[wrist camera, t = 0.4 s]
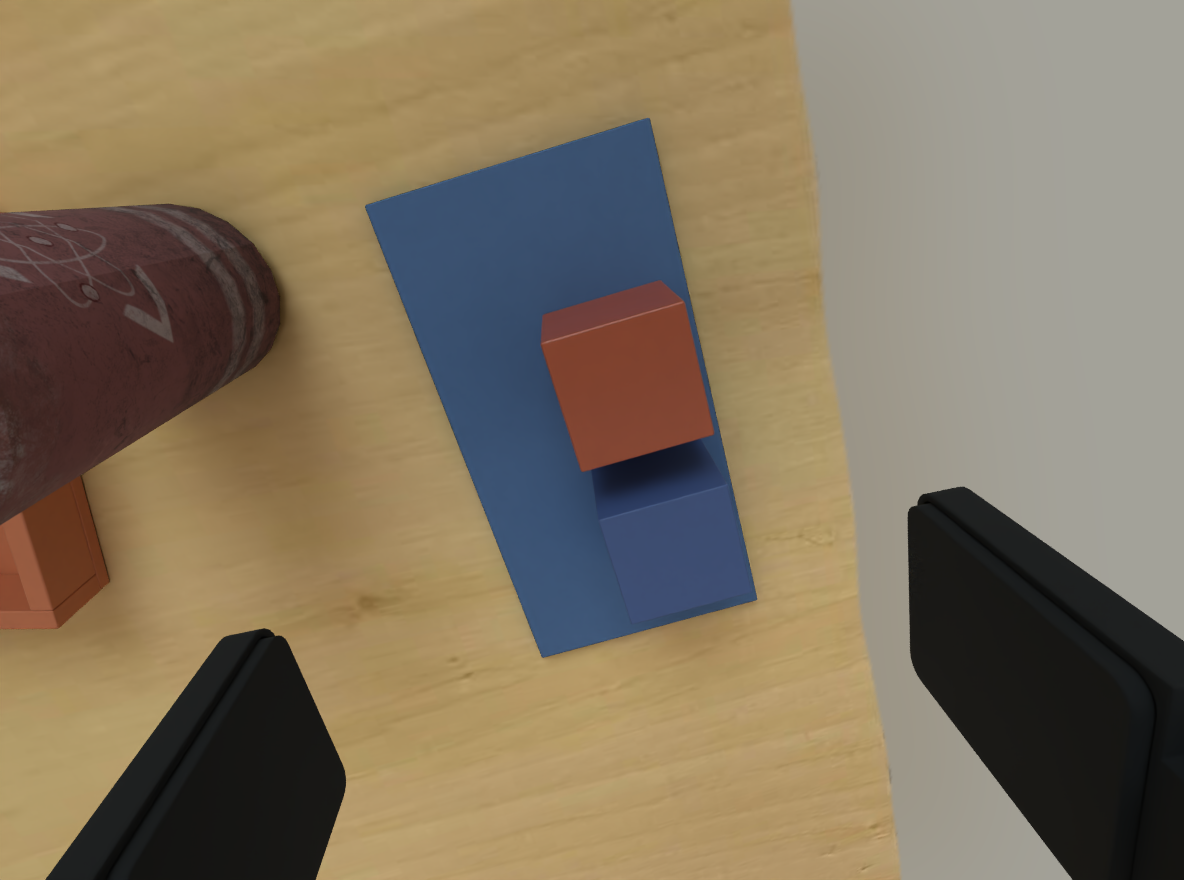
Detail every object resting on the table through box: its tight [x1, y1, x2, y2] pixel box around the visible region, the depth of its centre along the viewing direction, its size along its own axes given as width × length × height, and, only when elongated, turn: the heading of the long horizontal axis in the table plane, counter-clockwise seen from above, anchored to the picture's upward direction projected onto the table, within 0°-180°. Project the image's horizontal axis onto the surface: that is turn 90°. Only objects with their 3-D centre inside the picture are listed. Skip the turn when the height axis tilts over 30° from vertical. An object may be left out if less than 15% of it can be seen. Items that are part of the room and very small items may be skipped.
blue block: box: [591, 439, 752, 624], centre depth 25 cm, size 4×4×4 cm
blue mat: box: [365, 118, 757, 658], centre depth 26 cm, size 20×10×1 cm, turn 16°
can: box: [0, 204, 280, 525], centre depth 17 cm, size 6×6×14 cm
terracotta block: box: [541, 280, 714, 472], centre depth 22 cm, size 4×4×4 cm
